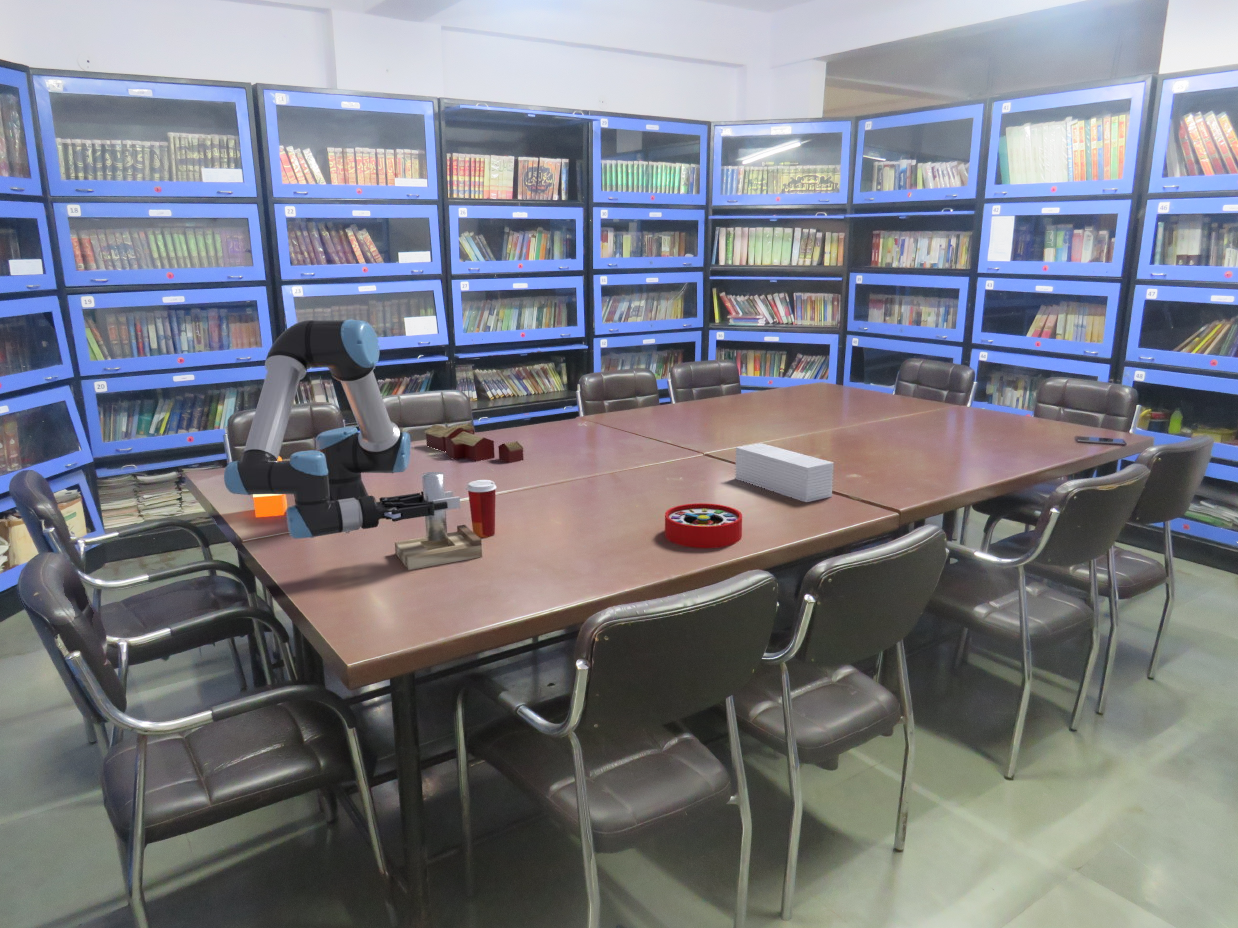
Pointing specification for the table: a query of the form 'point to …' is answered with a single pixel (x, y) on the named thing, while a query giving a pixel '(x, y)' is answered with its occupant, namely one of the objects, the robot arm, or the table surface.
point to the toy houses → (470, 444)
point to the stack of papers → (784, 472)
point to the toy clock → (703, 525)
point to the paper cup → (482, 507)
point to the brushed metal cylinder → (436, 523)
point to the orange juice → (270, 503)
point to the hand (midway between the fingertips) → (455, 499)
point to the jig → (439, 549)
